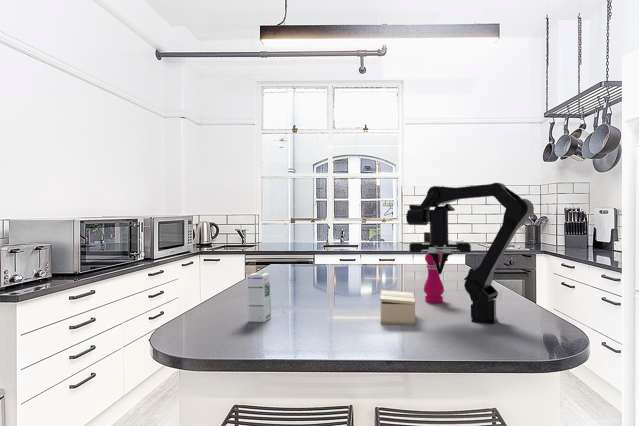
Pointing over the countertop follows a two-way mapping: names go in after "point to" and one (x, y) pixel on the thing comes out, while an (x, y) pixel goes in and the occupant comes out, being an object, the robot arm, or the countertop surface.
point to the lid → (397, 297)
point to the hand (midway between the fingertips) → (439, 274)
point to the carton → (397, 313)
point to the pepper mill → (433, 282)
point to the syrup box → (258, 297)
